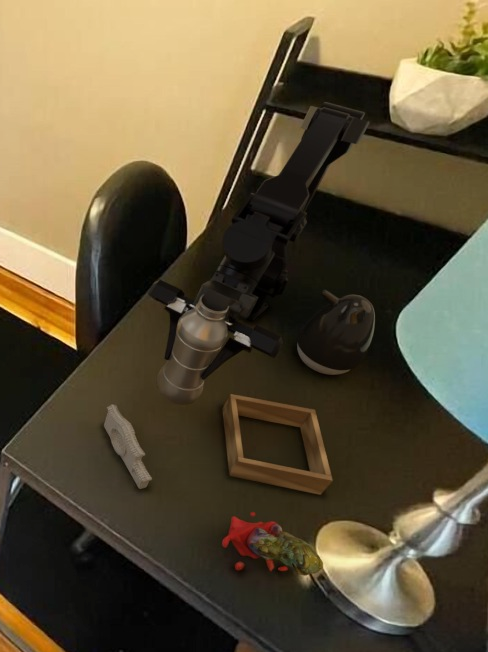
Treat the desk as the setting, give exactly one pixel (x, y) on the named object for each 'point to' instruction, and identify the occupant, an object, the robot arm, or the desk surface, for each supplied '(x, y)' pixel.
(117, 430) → the garden wall model
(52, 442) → the desk surface
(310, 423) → the square wooden frame
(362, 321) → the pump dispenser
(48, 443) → the desk surface
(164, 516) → the desk surface
